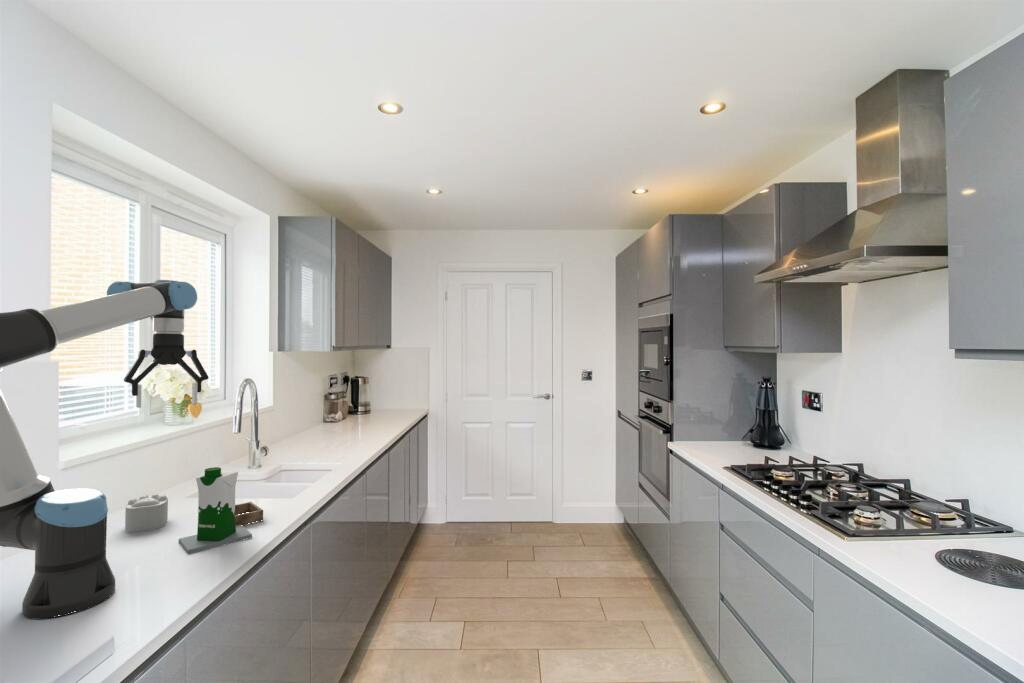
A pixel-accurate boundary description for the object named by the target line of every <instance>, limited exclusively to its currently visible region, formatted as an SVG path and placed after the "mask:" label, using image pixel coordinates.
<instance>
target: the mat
mask: <svg viewBox="0 0 1024 683" xmlns="http://www.w3.org/2000/svg"><path fill="white" fill-rule="evenodd" d="M250 537H252V538H253V533H251V532H250V531H249V530H248V529H246V527H244V526H241V525H236V532H235V533H233V534H232V535H230V536H228V537H226V538H225V539H223V540H221V541H201V540H197V534H194V535H189V536H183V537H181V538H178V544H180V546H181V547H182V548H183V549H184V551H185V552H186V553H187V555H189V554H193V553H196V552H200V551H205V550H209V549H212V548H216V547H220V546H224V544H225V545H228V543H229V544H231V542H233V543H236V542H235V541H237V542H240V540H241V541H244V540H243V539H245V540H247V539H246V538H249V539H251V538H250Z"/></svg>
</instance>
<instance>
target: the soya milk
mask: <svg viewBox="0 0 1024 683" xmlns="http://www.w3.org/2000/svg"><path fill="white" fill-rule="evenodd" d="M238 476H239V471H232V470H230V471H229V470H227V471H226V470H222V467H219V466H218V467H215V466H214V467H209V468H205V469H204V474H202V475H199V476H196V478H195V479H196V484H197V485H196V486H197V489H198V492H197V493H198V499H197V500H198V502H197V504H198V506H197V508H198V509H197V511H198V512H197V530H196V531H197V532H196V535H197V540H201V541H221V540H223V539H225V538H226V537H228V536H230V535H232V534H233V533H235V532H236V524H235V505H236V486H237V485H236V484H237V480H238Z"/></svg>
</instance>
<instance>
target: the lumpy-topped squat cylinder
mask: <svg viewBox="0 0 1024 683" xmlns="http://www.w3.org/2000/svg"><path fill="white" fill-rule="evenodd" d="M168 509H169V498H168V497H167V495H166V494H161V495H159V493H153V494H151V495H148V494H143V495H141V496H140V497H138V498H136V497H133V498H130V499H129V500H128V502H127V504H126V506H125V512H124V514H125V515H124V516H125V520H124V525H125V526H124V531H125V532H126V531H127V532H126V533H136V532H135V531H137V532H141V530H143V531H150V529H151V530H156V529H155V528H157V529H160V528H162V526H163V527H165V525H167V523H168V521H167V520H168V519H169V517H168V512H169V510H168Z"/></svg>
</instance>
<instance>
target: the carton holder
mask: <svg viewBox="0 0 1024 683" xmlns="http://www.w3.org/2000/svg"><path fill="white" fill-rule="evenodd" d="M246 512H249V513H246ZM242 513H244V514H242ZM238 514H240V515H238ZM261 520H263V521H264V510H263V508H261V507H260V506H258V505H257V504H255V503H254V502H252V501H248V502H243V503H238V504H237V503H236V504H235V524H236V525H244V526H246V525H245V524H248V523H252V522H256V521H261ZM261 522H262V521H261ZM248 525H249V524H248Z"/></svg>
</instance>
